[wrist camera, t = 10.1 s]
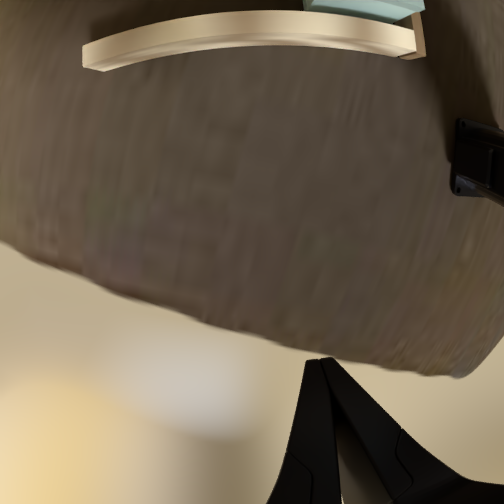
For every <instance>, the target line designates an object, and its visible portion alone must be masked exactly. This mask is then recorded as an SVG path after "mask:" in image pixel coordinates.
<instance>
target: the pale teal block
mask: <svg viewBox="0 0 504 504" xmlns="http://www.w3.org/2000/svg"><path fill="white" fill-rule="evenodd" d="M303 8H304V11H306V12H319V13H329V14H337V15H344V16H351V17H357V18H363V19H368V20H373V21H378V22H383V23H387V24H391V25H392V24H393V23H394V22H396V21H398V20H400V19H402V18H404V17H406V16H408V15H411V14H413V13H415V12H420V11H422V10H425V6H424V2H423V0H303Z"/></svg>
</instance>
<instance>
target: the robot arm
mask: <svg viewBox="0 0 504 504" xmlns="http://www.w3.org/2000/svg"><path fill="white" fill-rule="evenodd" d="M461 123H462V125H461ZM457 188H458V190H457ZM452 193H453V194H455V195H456V196H469V197H486V198H488V199H490V200H492V201H494V202H496V203H498V204H499V205H501V206H503V207H504V132H503V130H501V129H498V128H495V127H492V126H489V125H486V124H482V123H479V122H475V121H472V120H468V119H464V118H458V119H457V121H456V147H455V162H454V173H453V182H452ZM341 494H342V498H343V502H344V504H504V485H502V484H494V483H486V482H479V481H474V480H471V479H468V478H465V477H463V476H461V475H460V474H458V473H457V472H455V471H454V470H453V469H451V468H450V467H448V466H447V465H445V464H444V463H443V462H441V461H440V460H438V459H437V458H436V457H435V456H433V455H432V454H431V453H430V452H428V451H427V450H426V449H425V448H423V447H422V446H421V445H420V444H419V443H418V442H416V441H415V440H414V439H413V438H412V437H411V436H410V435H409V434H408V433H407V432H406V431H405V430H404V429H401V426H400V425H399V424H398V423H397V422H396V421H395V420H394V419H393V418H392V417H391V416H390V415H389V414H388V413H387V412H386V411H385V410H384V409H383V408H382V407H381V406H380V405H379V404H378V403H377V402H376V401H375V400H374V399H373V398H372V397H371V396H370V395H369V394H368V393H367V392H366V391H365V390H364V389H363V388H362V387H361V386H360V385H359V384H358V383H357V382H356V381H355V380H354V379H353V378H352V377H351V376H350V375H349V374H348V373H347V371H346V370H344V368H343V367H341V366H340V364H339V363H338V362H337V361H336V360H335V359H334V358H332V357H327V358H321V359H319V360H318V359H311V360H307V361H306V362H305V368H304V373H303V378H302V383H301V388H300V392H299V397H298V402H297V407H296V411H295V415H294V420H293V424H292V428H291V432H290V436H289V440H288V444H287V448H286V453H285V456H284V460H283V463H282V466H281V469H280V473H279V476H278V479H277V481H276V484H275V486H274V488H273V490H272V493H271V495H270V497H269V499H268V501H267V503H266V504H342V500H341Z"/></svg>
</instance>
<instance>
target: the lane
mask: <svg viewBox="0 0 504 504" xmlns="http://www.w3.org/2000/svg"><path fill="white" fill-rule="evenodd" d="M258 45H298V46H318V47H330V48H340V49H349V50H357V51H364V52H370V53H376V54H382V55H387V56H392V57H396V56H400V55H403V54H407V53H411V52H415V51H416V42H415V35H414V30H410V29H407V28H403V27H399V26H395V25H391V24H387V23H383V22H378V21H373V20H368V19H363V18H357V17H351V16H344V15H337V14H329V13H319V12H306V11H284V10H258V11H237V12H224V13H214V14H206V15H198V16H191V17H185V18H179V19H174V20H169V21H164V22H159V23H155V24H151V25H146V26H142V27H139V28H135V29H131V30H128V31H124V32H121V33H118V34H115V35H111V36H108V37H105V38H103V39H100V40H97V41H94V42H91V43H89V44H86V45H84V46H83V67H86V68H90V69H95V70H99V71H108V70H111V69H114V68H118V67H121V66H125V65H129V64H132V63H136V62H140V61H145V60H149V59H154V58H158V57H163V56H168V55H174V54H179V53H185V52H192V51H199V50H207V49H216V48H226V47H239V46H258Z"/></svg>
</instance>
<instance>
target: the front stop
mask: <svg viewBox="0 0 504 504" xmlns="http://www.w3.org/2000/svg"><path fill="white" fill-rule="evenodd" d="M395 26H399V27H403V28H407V29H410V30H414V35H415V42H416V51H415V52H411V53H407V54H403V55H400V56H399V58H401V59H406V60H411V59H415V58H420V57H425V56H426V50H425V42H424V35H423V28H422V22H421V16H420V12H415V13H413V14H411V15H408V16H406V17H404V18H402V19H400V20H398V21H396V22H395Z"/></svg>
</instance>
